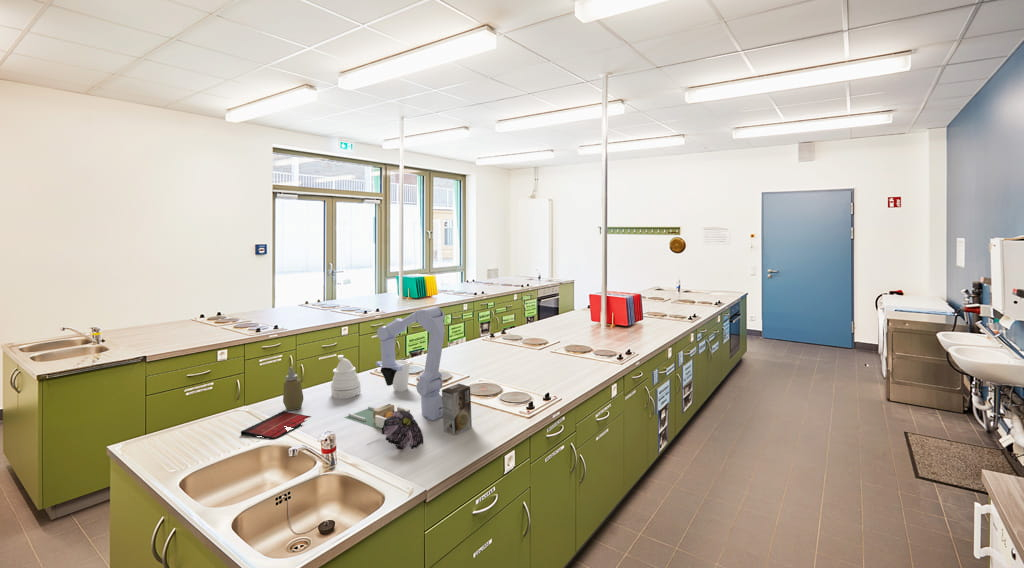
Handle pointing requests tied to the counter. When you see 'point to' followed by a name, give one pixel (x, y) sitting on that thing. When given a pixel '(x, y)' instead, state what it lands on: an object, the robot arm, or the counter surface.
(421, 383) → the robot arm
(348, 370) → the honey pot
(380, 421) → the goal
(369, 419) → the pitch mat
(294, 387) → the squeeze bottle
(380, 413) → the block
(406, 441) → the decorative flower
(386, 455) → the counter surface
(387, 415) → the ball
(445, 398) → the coffee box
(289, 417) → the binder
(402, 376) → the foam cup
